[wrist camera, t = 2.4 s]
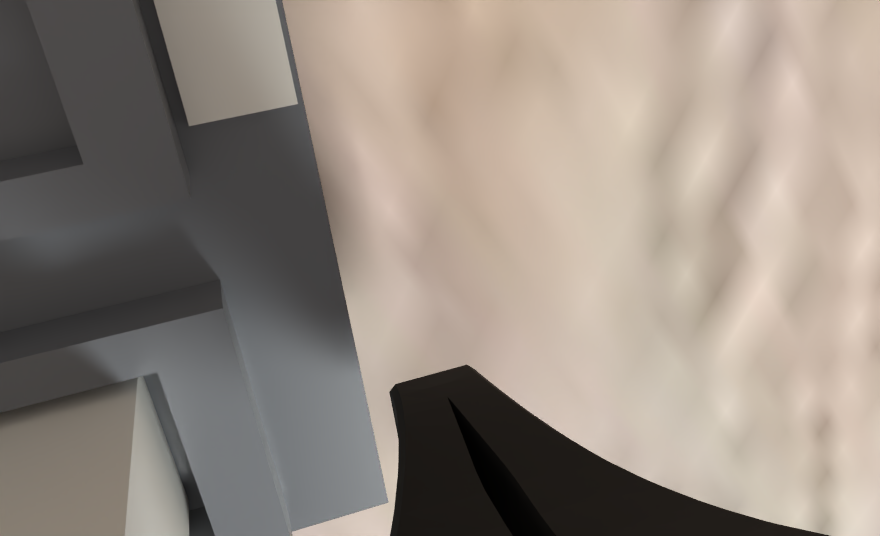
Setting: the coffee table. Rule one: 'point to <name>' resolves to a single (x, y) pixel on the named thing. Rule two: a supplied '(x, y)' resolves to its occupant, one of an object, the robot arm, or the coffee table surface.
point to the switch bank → (181, 250)
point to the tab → (90, 467)
